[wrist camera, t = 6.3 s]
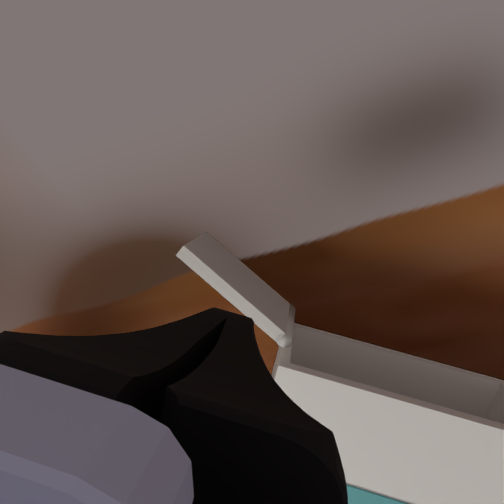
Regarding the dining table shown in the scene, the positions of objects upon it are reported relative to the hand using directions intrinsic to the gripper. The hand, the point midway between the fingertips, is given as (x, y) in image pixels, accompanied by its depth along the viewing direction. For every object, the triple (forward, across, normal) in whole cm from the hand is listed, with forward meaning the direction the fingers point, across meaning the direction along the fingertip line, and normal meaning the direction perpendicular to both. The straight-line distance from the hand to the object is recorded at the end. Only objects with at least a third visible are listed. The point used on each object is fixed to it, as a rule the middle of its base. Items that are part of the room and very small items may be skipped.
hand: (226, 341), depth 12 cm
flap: (+9, +1, +1) cm, 9 cm away
